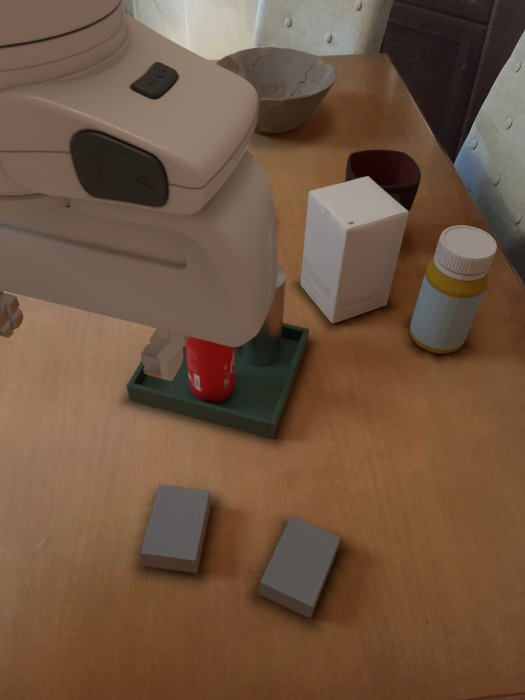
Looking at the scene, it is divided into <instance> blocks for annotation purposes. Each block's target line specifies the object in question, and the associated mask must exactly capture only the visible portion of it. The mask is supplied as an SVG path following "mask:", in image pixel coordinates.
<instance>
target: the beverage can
mask: <svg viewBox="0 0 525 700" xmlns="http://www.w3.org/2000/svg"><path fill="white" fill-rule="evenodd" d="M186 355H187V366H188V376H189V386H190V389H191V391H192V393H193V394H194V395H195V397H196V398H197V399H198V400H199V401H202V402H206V403H210V404H218V403H221V402H223V401H225V400H226V399H227V398H228V397H229V396H230V394H231V392H232V391H233V389H234V386H235V347H230V346H225V345H222V344H218V343H214V342H210V341H206V340H202V339H198V338H194V337H189V339H188V341H187V343H186Z"/></svg>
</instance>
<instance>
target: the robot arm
mask: <svg viewBox="0 0 525 700" xmlns="http://www.w3.org/2000/svg"><path fill="white" fill-rule="evenodd" d="M124 1H125V0H0V337H3V338H7V339H9V338H12V336H13V335H14V332H15V331H14V330H16V329H19V327H21V325H22V323H23V320H24V314H23V311H22V310H21V309H20V302H19V299H18V297H17V295H19V296H23V297H27V298H32V299H35V300H39V301H44V302H48V303H52V304H56V305H60V306H64V307H68V308H72V309H77V310H81V311H84V312H88V313H93V314H97V315H101V316H105V317H108V318H113V319H117V320H122V321H126V322H129V323H133V324H138V325H142V326H146V327H150V328H153V329H154V328H155V329H156V330H154V332H153V334H152V335H151V336H150V338H149V340H150V342H149V343H148V344H146V345H145V346H144V349H142V352H141V353H140V358H141V361H142V364H143V365H144V366H145V367H144V369H143V370H144V373H145V374H147V375H151V376H154V377H158V378H161V379H165V380H169V381H172V380H173V379H174V378H175V376H176V374H177V372H178V370H179V368H180V366H181V364H182V361H183V347H184V346H185V345H186V343H187V341H188V339H189V337H194V338H198V339H202V340H206V341H210V342H214V343H218V344H222V345H225V346H230V347H239V346H241V345H243V344H245V343H246V342H248V341H249V340H251V339H252V338H253V337H255V336H256V335H257V334H258V332H259V331H260V329H261V327H262V325H263V323H264V321H265V319H266V317H267V315H268V312H269V310H270V307H271V304H272V302H273V299H274V295H275V291H276V286H277V269H278V265H279V263H278V262H279V261H278V260H279V259H278V257H279V254H278V252H279V251H278V250H279V249H278V231H277V219H276V210H275V201H274V196H273V190H272V186H271V182H270V180H269V177H268V175H267V173H266V170H265V169H264V167H263V166H262V164H261V163H260V161H259V160H258V159H257V157H256V156H255V155H254V154H253V153H252V152H250V151H249V150H248V147H249V145H250V143H251V141H252V139H253V135H254V133H255V131H254V130H255V128H256V124H257V121H258V114H259V100H258V95H257V92H256V90H255V88H254V87H253V86H252V85H251V84H250V83H249V82H248V81H247V80H245V79H244V78H242V77H241V76H239V75H237V74H235V73H233V72H231V71H229V70H227V69H225V68H223V67H221V66H219V65H217V64H215V63H216V62H214V61H211V60H209V59H207V58H205V57H203V56H201V55H199V54H197V53H196V52H194V51H191V50H189V49H188V48H186V47H185V46H183V45H180V44H179V43H176V42H174V41H173V40H171V39H169V38H167V36H164V35H162V34H161V33H159V32H157V31H156V30H154V29H152V28H150V27H149V26H147V25H146V24H145V23H143V22H141V21H140V20H138V19H137V18H135V17H134V16H131V15H129V14H127V13H126V9H125V2H124ZM6 292H7V293H6ZM14 294H16V295H14Z"/></svg>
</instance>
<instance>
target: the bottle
mask: <svg viewBox="0 0 525 700" xmlns="http://www.w3.org/2000/svg"><path fill="white" fill-rule="evenodd" d="M497 247H498V245H497V242H496V240H495V239H494V237H493V236H492V235H491V234H489V233H488V232H487V231H485V230H483V229H481V228H478V227H476V226H472V225H463V224H461V225H460V224H459V225H458V224H457V225H451V226H449V227H447V228H445V229H444V230H442V232H441V234H440V236H439V238H438V241H437V244H436V248H435V254H434V256H433V258H432V259H431V260H430V261H429V263H428V264H427V267H426V269H425V272H424V276H423V279H422V282H421V287H420V289H419V292H418V296H417V300H416V303H415V307H414V309H413V313H412V316H411V320H410V325H409V334H410V337H411V339H412V340H413V341H414V343H415V344H416V345H417V346H419V347H420V348H421V349H423V350H425V351H427V352H429V353H432V354H437V355H441V354H442V355H443V354H450V353H453V352H457V351H458V350H460V349H461V348H462V347H463V345H464V343H466V340H467V338H468V335H469V333H470V329H471V327H472V324H473V322H474V320H475V317H476V315H477V312H478V309H479V307H480V305H481V302H482V300H483V297H484V294H485V292H486V289H487V286H488V284H489V271H490V267H491V265H492V263H493V260H494V258H495V255H496V253H497V249H498V248H497Z"/></svg>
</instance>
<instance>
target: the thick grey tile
mask: <svg viewBox="0 0 525 700" xmlns="http://www.w3.org/2000/svg"><path fill="white" fill-rule="evenodd" d="M152 505H153V506H152V509H151V513H150V517H149V520H148V523H147V524H148V525H147V527H146V532H145V536H144V539H143V542H142V546H141V550H140V556H141V560H142V563H143V566H144V567H146V568H153V569H162V570H170V571H177V572H184V573H192V574H198V572H199V566H200V561H201V557H202V552H203V547H204V542H205V537H206V533H207V532H206V531H207V527H208V521H209V517H210V512H211V508H212V507H211V506H212V501H211V491H210V490H205V489H198V488H190V487H181V486H175V485H166V484H165V485H164V484H158V487H157V491H156V495H155V498H154V502H153V504H152Z"/></svg>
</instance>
